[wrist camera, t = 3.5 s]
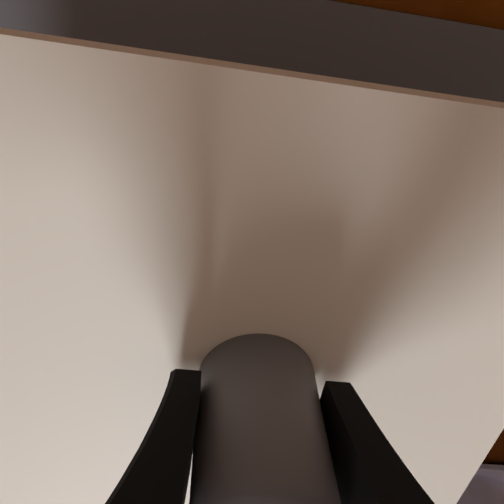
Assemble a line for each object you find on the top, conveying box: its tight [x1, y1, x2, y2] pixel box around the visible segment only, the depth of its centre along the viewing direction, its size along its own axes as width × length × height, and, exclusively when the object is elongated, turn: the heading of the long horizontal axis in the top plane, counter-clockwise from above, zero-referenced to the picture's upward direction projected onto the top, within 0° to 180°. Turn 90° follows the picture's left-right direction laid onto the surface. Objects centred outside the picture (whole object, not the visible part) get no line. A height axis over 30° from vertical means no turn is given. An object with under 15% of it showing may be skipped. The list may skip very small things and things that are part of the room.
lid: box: [0, 27, 504, 504], centre depth 11 cm, size 15×15×5 cm
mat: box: [0, 0, 504, 102], centre depth 18 cm, size 17×17×1 cm
